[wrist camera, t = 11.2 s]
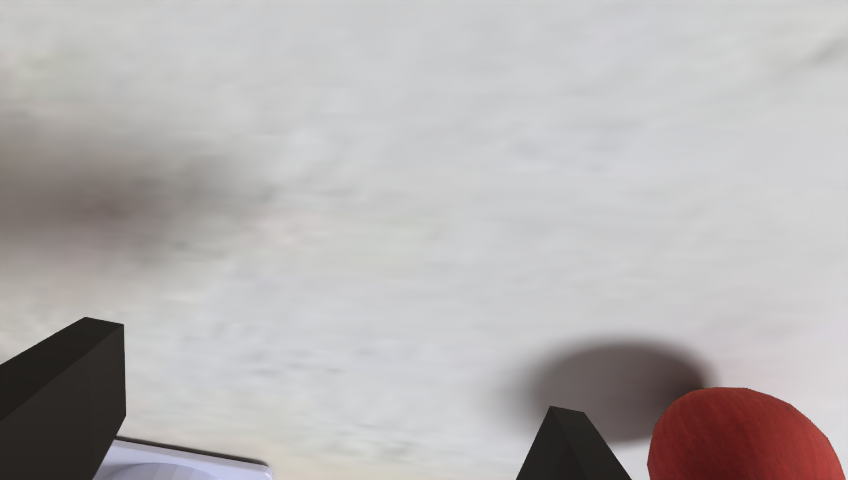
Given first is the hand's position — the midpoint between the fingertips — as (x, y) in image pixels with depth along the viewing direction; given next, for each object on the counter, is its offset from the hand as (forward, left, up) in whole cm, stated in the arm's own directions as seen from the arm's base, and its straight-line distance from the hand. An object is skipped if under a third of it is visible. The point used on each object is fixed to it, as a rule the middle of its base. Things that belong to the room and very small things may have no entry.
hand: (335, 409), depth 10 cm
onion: (-6, -14, -10) cm, 18 cm away
